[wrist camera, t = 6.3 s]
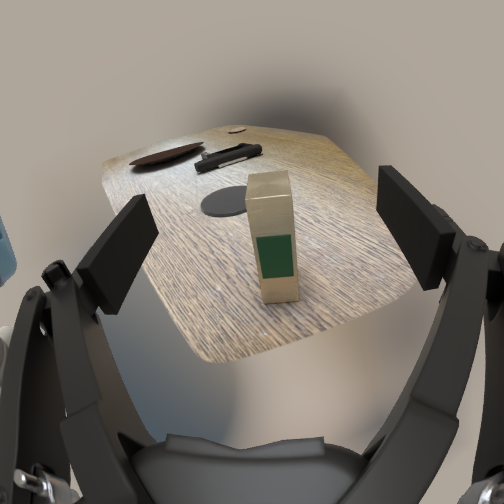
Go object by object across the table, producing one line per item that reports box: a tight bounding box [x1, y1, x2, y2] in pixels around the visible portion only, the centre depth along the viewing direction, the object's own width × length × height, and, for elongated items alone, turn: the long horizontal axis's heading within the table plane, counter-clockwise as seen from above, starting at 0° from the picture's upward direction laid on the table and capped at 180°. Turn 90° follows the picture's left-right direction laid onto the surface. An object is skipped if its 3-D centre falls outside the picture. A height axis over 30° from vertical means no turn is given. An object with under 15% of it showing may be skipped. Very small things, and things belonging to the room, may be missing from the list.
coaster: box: [201, 186, 247, 217], centre depth 53 cm, size 12×12×1 cm
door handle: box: [194, 143, 262, 172], centre depth 76 cm, size 3×20×16 cm
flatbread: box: [227, 127, 246, 132], centre depth 109 cm, size 8×8×1 cm
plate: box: [129, 142, 204, 165], centre depth 90 cm, size 28×28×4 cm
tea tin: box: [245, 170, 299, 304], centre depth 29 cm, size 6×4×13 cm, turn 177°
